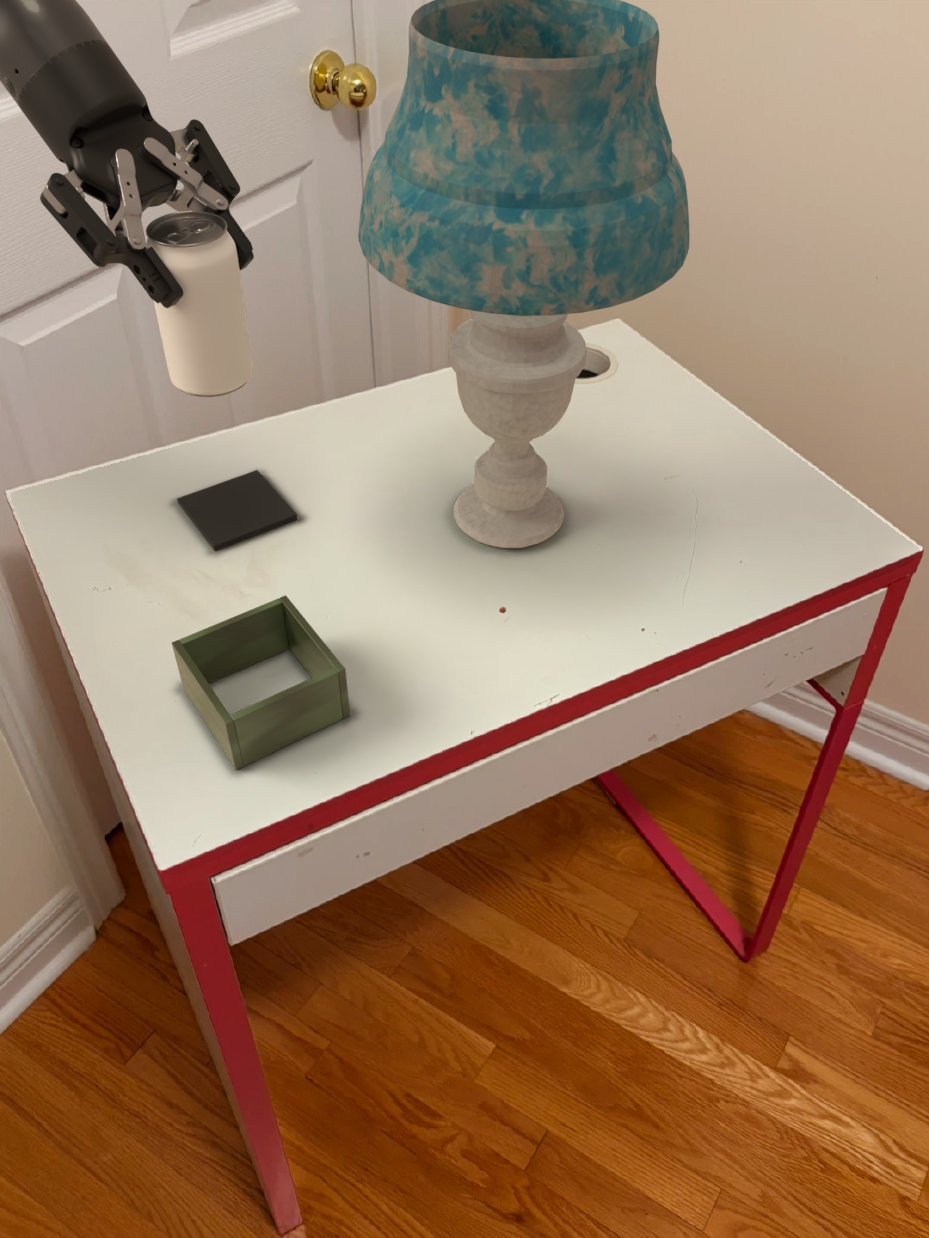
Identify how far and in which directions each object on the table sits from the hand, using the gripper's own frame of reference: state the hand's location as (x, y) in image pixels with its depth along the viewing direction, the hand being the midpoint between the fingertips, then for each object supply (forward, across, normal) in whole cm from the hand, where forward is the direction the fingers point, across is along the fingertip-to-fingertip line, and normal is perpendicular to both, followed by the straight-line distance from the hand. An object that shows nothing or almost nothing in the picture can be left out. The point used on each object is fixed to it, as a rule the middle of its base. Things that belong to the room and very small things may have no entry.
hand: (211, 282), depth 76 cm
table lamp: (+29, +15, +5) cm, 33 cm away
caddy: (+27, -14, +6) cm, 31 cm away
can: (+5, 0, +7) cm, 9 cm away
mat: (+14, +2, +19) cm, 24 cm away
